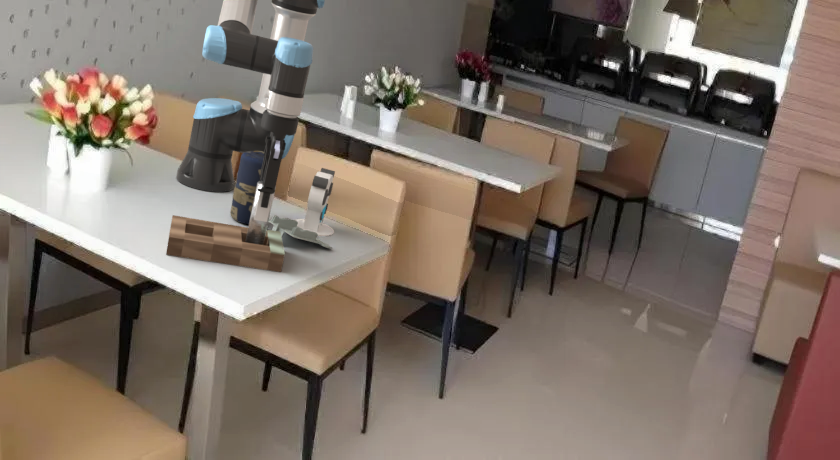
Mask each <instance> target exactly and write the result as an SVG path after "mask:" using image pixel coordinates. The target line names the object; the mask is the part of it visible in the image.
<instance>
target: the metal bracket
mask: <svg viewBox="0 0 840 460" xmlns="http://www.w3.org/2000/svg"><path fill="white" fill-rule="evenodd" d="M268 223H270V224H272V225H273V227H272V228H271V230H273V231H279V232H281V237H282V238H283V236H284V233H286V234H288V235H289V236H291V237H292V238H294V239H299V240H303V241H307V242H311V243H313V244H314V243H315V244H319V245H320V246H322V247H323V248H327V249H331V250H332V249H333V247H332V246H331V245H329V244H328V243H326V242H324V241H322V240H321V239H319V238H318V237H319V236H318V234H317V233H315V232H312V231H308V230H303V229H302V228H300V227H298V226H297V224H298V222H297V221H296V220H294V219H291V218H288V217H281V218H280V217H279V216H278V215H277V214H274V215H273V216H272V218H271V219H270V218H269V222H268Z"/></svg>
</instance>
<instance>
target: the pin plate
mask: <svg viewBox="0 0 840 460" xmlns="http://www.w3.org/2000/svg"><path fill="white" fill-rule="evenodd" d="M247 231H248V226H247V227H246V226H239V225H234V224H229V223H228V224H226V223H221V222H216V221H210V220H203V219H197V218H192V217H188V216H187V217H185V216H180V215H173V214H172V217H171V224H170V228H169V234H168V240H167V245H168V246H167V245H166V253H165V256H173V257H178V258H179V257H180V258H186V259H192V260H193V259H194V260H199V261H204V262H205V261H206V262H210V263H211V262H212V263H219V264H226V265H231V266H237V267H245V268H251V269H258V270H265V271H271V272H278V273H281V272H282V268H283V264H284V260H285V255H286V253H285V248H284V243H283V236H282V237H281V232H279V231H275V230H274V231H273V230H272V229H267V231H266V236H265V240H264V245H258V244H252V243H246V242H245V241H246V236H247Z"/></svg>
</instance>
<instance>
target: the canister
mask: <svg viewBox="0 0 840 460" xmlns="http://www.w3.org/2000/svg"><path fill="white" fill-rule="evenodd" d="M263 159H264V152H263V151H247V152H244V153H241V156H240V160H239V161H240V162H239V165H238V171H237V173H236V180H235V185H234V189H233V192H232V193H233V194H232V200H231V208H230V211H229V213H230V217H231V218H232V219H233V220H234V221H236V222H239V223H242V224H246V225H249V221H250V217H251V212H252V207H253V202H254V197H255V192H256V187H257V183H258V182H259V180H260V177H259V176H260V174H261V169H262V164H263Z"/></svg>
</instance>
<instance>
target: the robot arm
mask: <svg viewBox="0 0 840 460" xmlns="http://www.w3.org/2000/svg"><path fill="white" fill-rule="evenodd" d="M325 2H326V0H271V2H270V3H271V5H272V7H273V8H274V11H275V13H274V19H273V23H272V29H271V33H270V37H269V38H267V37H265V36H260V35H256V34H253V30H254V29H253V28H254V23H255V18H256V17H255V16H256V12H257V5H258V0H223V1H222V6H221V10H220V12H219V19H218V22H217V25H213V24H210V25H208V26H207V27H206V30H205V34H204V40H203V45H202V46H203V47H202V54H201V55H202V57H203V58H204V60H206V61H210V62H215V63H217V64H218V65H226V66H229V67H235V68H240V69H242V70H243V69H245V70H249V71H252V72H257V73H261V74H262V78H261V82H260V83H261V84H260V87H259V92H258V97H257V99H256V100H255V101H253V102H251V103H250V107H249V109H244V108H243V104H242V103H241V102H240V101H238V100H234V99H229V98H222V97H221V98H219V97H216V98H215V97H210V98H202V99H200V100H199V101H198V102H197V103H196V106H195V111H194V114H193V117H192V119H193V122H192V126H191V131H190V136H189V137H190V138H189V144H188V149H187V151H186V152H187V153H186V154H185V156H184V158H183V159H182V161H181V163H180V165H179V167H178V168H177V172H176V178H175V179H176V180H177V181H178V182H179V183H181V184H182V185H184V186H187V187H190V188H193V189H197V190H201V191H206V192H215V193H216V192H217V193H221V192H223V193H224V192H229V191H231V190H232V189H233V187H234V182H235V178H234V171H233V163H232V158H233V153H234V152H236V153H237V152H238V153H241V154H243V153H244V152H247V151H263V152H264V159H263V164H262V169H261V174H260V176H259V177H260V180H259V182H260V181H262V182H263V183H262V188H261V189H259V188H258V192H260V193H259V198H258V203H257V208H256V212H255V217H254V220H258V221H264V222H267V219H268V214H269V210H270V205H271V200H272V195H273V194H274V195H275V193H274V192H276V189H275V187H276V188H277V182H278V177H279V172H280V168H281V163H282V160H283V159H285V158H286V157H287V155H288V154H289V151H290V149H291V147H292V144H293V141H294V138H295V135H296V133H297V129H298V125H299V121H300V120H299V116H300V115H301V112H302V109H303V108H302V107H303V104H304V98H305V97H304V96H305V91H306V87H307V83H308V78H309V74H310V69H311V65H312V63H313V54H314V46H313V44H311V43H310V42H307V41H305V38H306V33H307V30H308V29H307V28H308V25H309V20H310V19H312V18H313V17H314V16H316V15H317V12H318V9H319V10H320V9H324V7H325Z"/></svg>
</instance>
